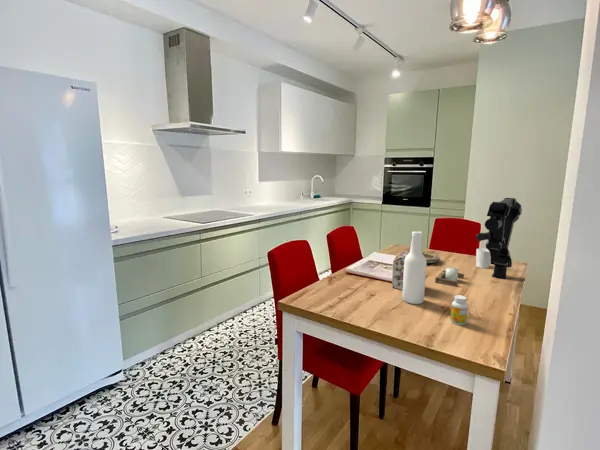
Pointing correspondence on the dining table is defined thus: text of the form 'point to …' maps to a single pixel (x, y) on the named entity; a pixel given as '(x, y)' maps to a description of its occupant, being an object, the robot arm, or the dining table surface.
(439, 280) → the dock
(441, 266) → the dining table surface
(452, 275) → the white rounded canister
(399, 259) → the decorative jar
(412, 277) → the alcohol
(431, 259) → the pie
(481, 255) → the white cup
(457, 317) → the supplement bottle
